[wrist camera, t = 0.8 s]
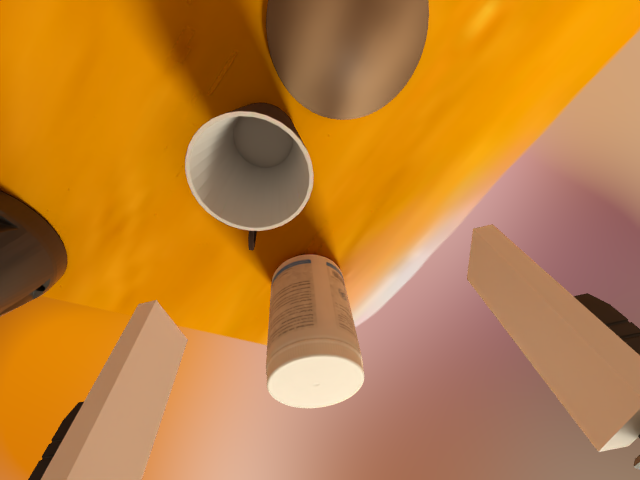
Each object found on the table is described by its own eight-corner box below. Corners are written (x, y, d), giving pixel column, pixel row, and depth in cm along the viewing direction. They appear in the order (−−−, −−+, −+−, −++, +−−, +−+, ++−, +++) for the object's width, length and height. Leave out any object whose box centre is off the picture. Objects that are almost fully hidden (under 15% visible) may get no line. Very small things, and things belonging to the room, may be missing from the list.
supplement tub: (269, 300, 41) (258, 409, 29) (276, 246, 35) (266, 352, 23) (335, 305, 42) (351, 411, 30) (351, 255, 37) (379, 357, 25)
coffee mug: (243, 66, 25) (217, 79, 16) (325, 125, 28) (338, 161, 20) (191, 174, 30) (152, 226, 21) (266, 214, 33) (256, 271, 25)
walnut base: (270, 114, 27) (269, 116, 26) (262, -91, 19) (261, -96, 19) (404, 120, 28) (407, 122, 27) (445, -70, 21) (450, -74, 20)
